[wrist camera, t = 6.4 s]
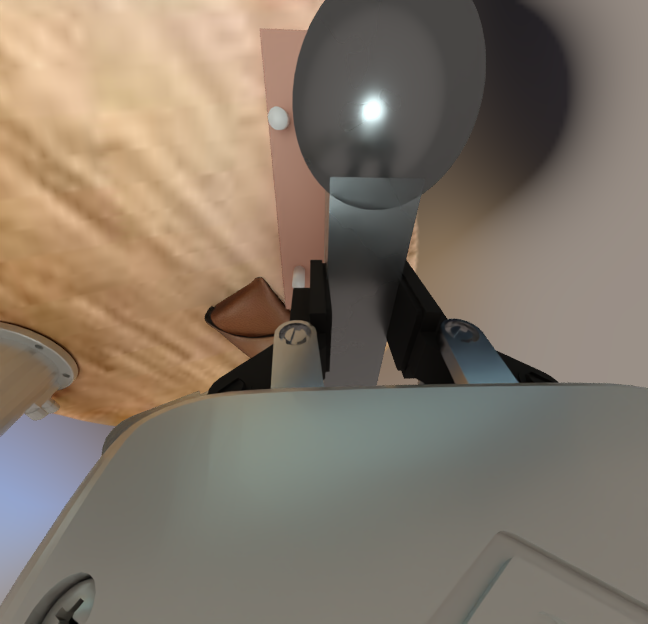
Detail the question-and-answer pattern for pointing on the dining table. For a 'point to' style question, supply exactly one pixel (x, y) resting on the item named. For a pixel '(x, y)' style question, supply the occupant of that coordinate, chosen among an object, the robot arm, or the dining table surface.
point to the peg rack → (291, 165)
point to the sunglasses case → (249, 317)
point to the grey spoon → (380, 147)
